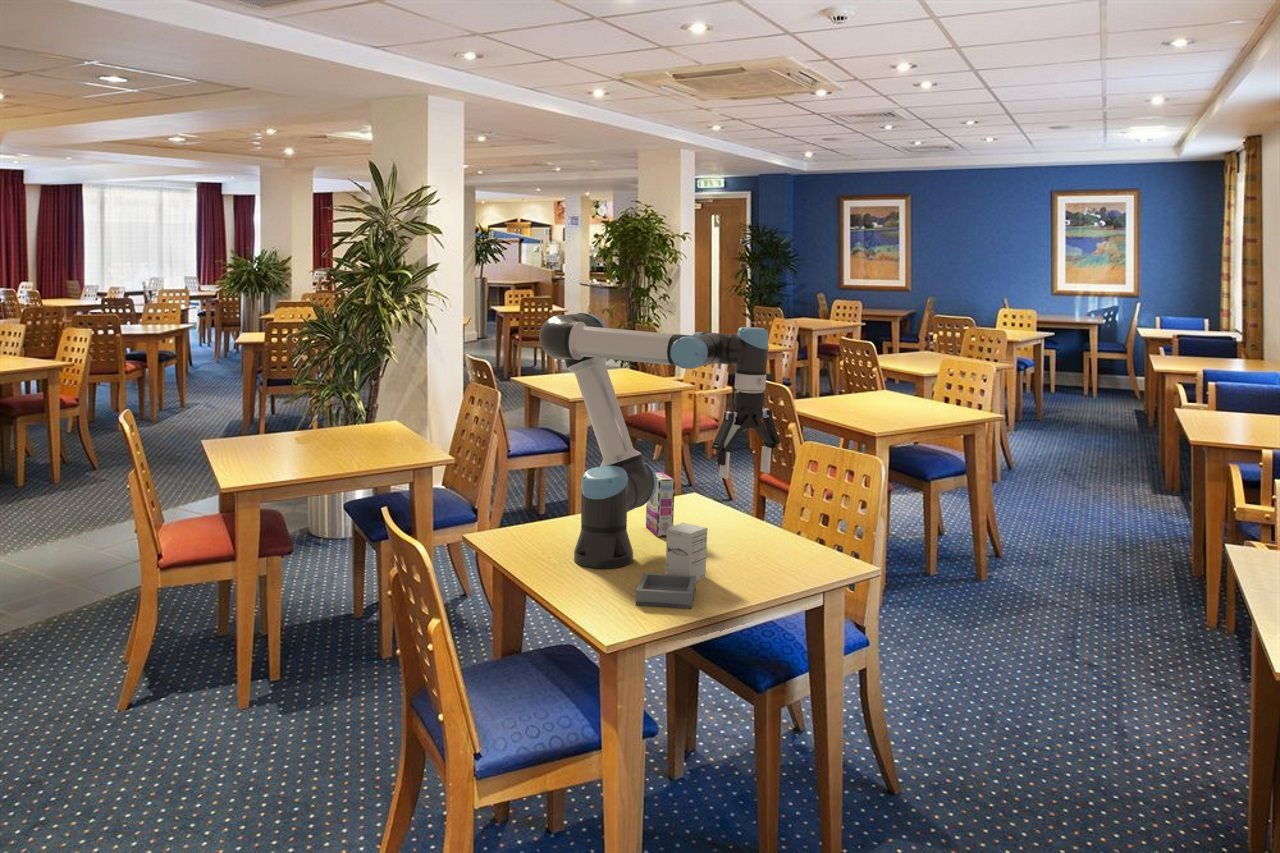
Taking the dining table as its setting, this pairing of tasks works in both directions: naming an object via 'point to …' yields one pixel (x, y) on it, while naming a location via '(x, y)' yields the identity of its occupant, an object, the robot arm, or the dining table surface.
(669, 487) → the candy bar box
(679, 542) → the supplement box
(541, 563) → the dining table surface
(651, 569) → the dining table surface
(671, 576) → the dock tray
